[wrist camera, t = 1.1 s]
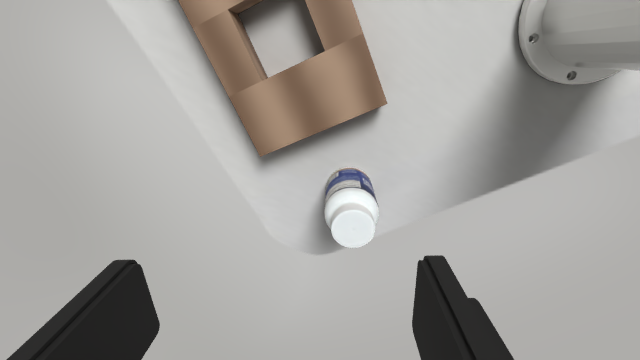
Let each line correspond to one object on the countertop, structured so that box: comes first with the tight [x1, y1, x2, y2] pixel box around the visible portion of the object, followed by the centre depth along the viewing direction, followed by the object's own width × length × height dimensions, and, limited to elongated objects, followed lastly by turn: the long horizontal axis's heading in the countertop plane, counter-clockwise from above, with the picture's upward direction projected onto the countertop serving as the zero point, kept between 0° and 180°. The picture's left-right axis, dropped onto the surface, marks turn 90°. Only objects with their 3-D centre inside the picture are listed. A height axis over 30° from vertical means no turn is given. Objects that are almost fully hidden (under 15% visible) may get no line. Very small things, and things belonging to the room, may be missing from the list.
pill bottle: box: [324, 167, 379, 248], centre depth 31 cm, size 5×5×10 cm
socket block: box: [178, 0, 387, 157], centre depth 29 cm, size 14×20×3 cm
